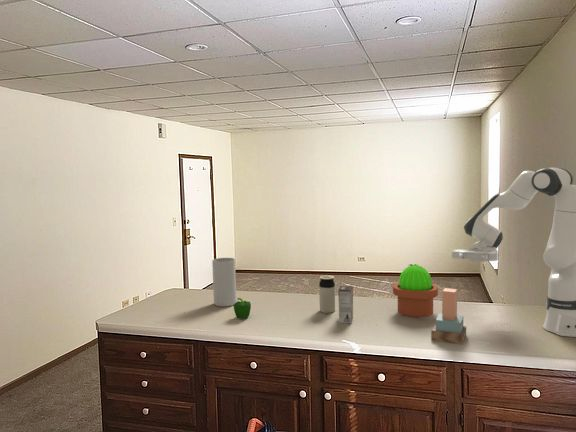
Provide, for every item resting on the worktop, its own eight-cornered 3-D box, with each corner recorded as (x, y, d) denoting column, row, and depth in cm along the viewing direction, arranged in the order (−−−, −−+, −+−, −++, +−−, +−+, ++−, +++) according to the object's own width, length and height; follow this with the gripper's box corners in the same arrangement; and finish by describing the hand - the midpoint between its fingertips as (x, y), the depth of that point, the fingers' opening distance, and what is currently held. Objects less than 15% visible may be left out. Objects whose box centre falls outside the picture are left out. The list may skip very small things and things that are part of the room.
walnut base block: (466, 336, 204) (466, 326, 203) (460, 345, 194) (461, 334, 193) (437, 332, 210) (437, 322, 210) (431, 340, 200) (431, 330, 199)
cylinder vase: (227, 299, 272) (226, 256, 270) (241, 303, 263) (239, 259, 261) (209, 304, 264) (207, 260, 261) (222, 308, 254) (220, 262, 252)
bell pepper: (254, 317, 237) (254, 297, 236) (242, 321, 231) (241, 301, 230) (243, 314, 243) (242, 295, 242) (231, 317, 237) (230, 298, 236)
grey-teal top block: (463, 326, 204) (463, 315, 203) (460, 333, 195) (460, 322, 194) (439, 323, 208) (439, 313, 208) (435, 330, 199) (435, 319, 199)
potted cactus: (436, 321, 224) (436, 269, 222) (389, 316, 232) (389, 266, 230) (439, 308, 245) (439, 260, 242) (396, 305, 253) (396, 259, 250)
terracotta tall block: (456, 316, 202) (457, 289, 201) (454, 320, 198) (454, 292, 197) (444, 314, 205) (445, 288, 203) (442, 318, 201) (442, 290, 199)
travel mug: (330, 314, 240) (330, 279, 238) (317, 311, 244) (316, 277, 242) (337, 310, 246) (337, 276, 245) (324, 308, 250) (323, 274, 249)
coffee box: (340, 317, 234) (339, 285, 232) (353, 317, 233) (353, 285, 231) (338, 323, 225) (338, 290, 224) (352, 323, 224) (351, 290, 222)
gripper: (454, 245, 233) (448, 249, 221) (499, 247, 222) (495, 251, 211) (454, 258, 233) (448, 262, 221) (499, 260, 223) (495, 265, 211)
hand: (472, 257), depth 216 cm, fingers open, 8 cm apart
